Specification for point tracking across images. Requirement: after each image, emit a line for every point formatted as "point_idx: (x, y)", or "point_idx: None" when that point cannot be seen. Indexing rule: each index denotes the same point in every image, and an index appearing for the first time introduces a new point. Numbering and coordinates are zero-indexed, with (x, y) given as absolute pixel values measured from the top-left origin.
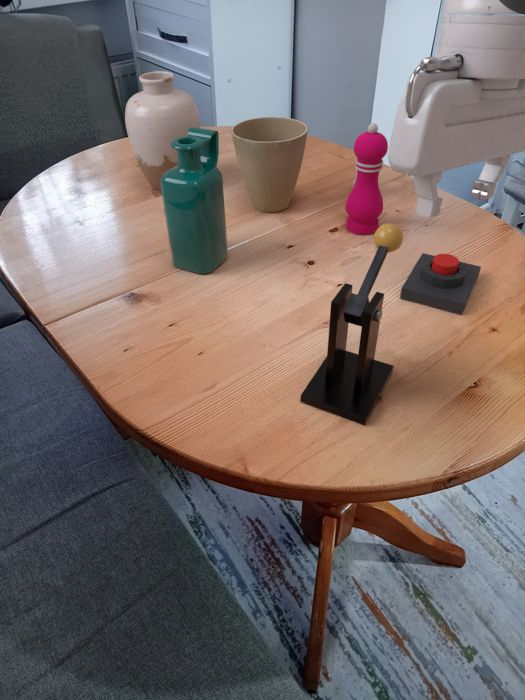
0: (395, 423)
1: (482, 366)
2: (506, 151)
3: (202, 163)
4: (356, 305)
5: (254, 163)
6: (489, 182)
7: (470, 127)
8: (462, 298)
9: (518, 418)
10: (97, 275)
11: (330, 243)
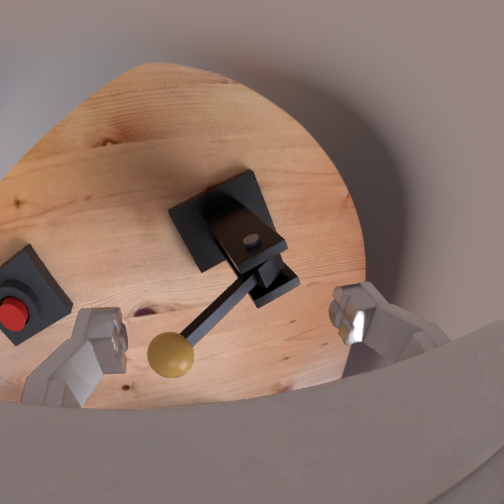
0: (223, 152)
1: (74, 160)
2: (82, 422)
3: None
4: (272, 267)
5: None
6: (94, 348)
7: (458, 464)
8: (21, 260)
9: (114, 80)
10: None
11: (90, 401)
